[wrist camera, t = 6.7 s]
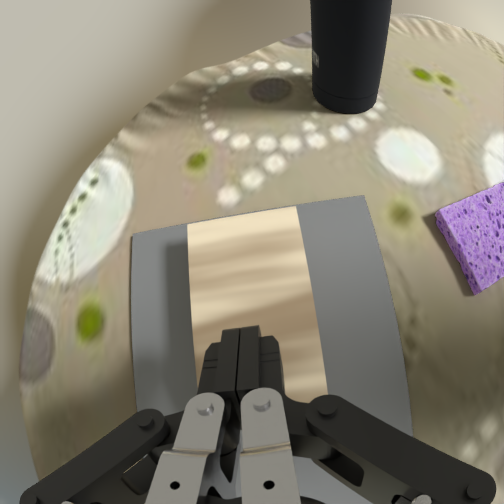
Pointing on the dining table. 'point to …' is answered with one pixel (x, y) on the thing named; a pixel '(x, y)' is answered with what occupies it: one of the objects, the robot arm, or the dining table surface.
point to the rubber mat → (328, 318)
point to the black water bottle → (348, 52)
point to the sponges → (476, 235)
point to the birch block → (257, 291)
